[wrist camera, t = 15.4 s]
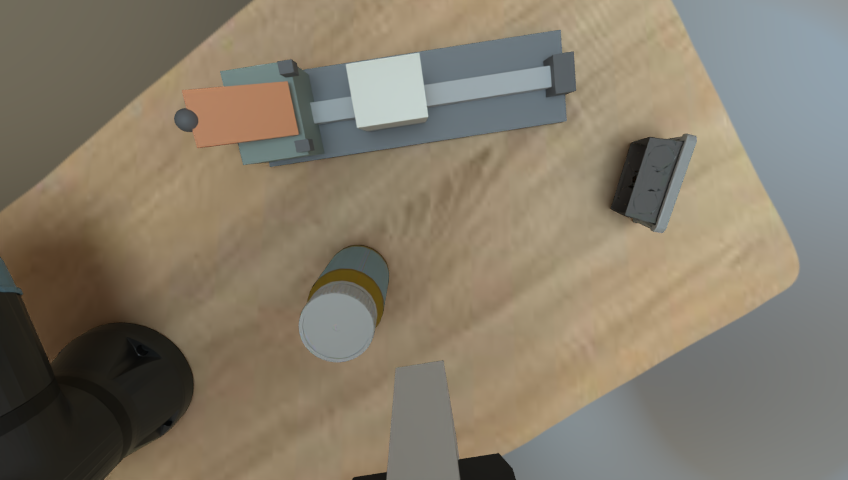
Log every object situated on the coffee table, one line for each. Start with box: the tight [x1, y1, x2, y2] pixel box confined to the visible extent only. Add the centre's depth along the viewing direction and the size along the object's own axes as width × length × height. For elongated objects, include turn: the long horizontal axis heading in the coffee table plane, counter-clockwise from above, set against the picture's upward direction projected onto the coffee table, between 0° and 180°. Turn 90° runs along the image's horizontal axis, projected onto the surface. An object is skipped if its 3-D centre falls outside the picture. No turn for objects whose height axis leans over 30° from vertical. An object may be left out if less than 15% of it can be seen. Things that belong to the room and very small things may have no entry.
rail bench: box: [220, 30, 576, 167], centre depth 39 cm, size 32×9×10 cm, turn 99°
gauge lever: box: [174, 81, 299, 148], centre depth 34 cm, size 2×4×9 cm
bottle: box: [299, 245, 389, 362], centre depth 40 cm, size 7×7×15 cm
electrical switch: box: [611, 134, 697, 233], centre depth 42 cm, size 9×5×9 cm, turn 168°
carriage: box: [346, 53, 428, 132], centre depth 38 cm, size 6×5×9 cm
